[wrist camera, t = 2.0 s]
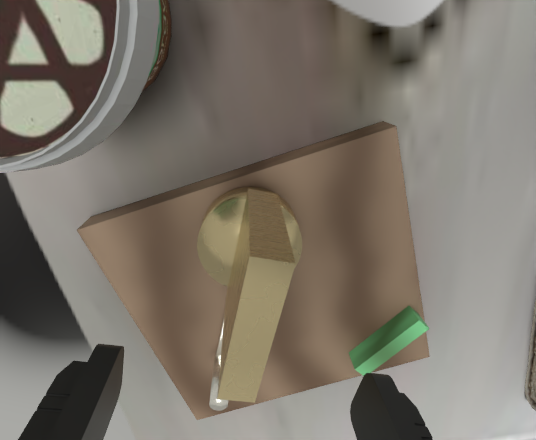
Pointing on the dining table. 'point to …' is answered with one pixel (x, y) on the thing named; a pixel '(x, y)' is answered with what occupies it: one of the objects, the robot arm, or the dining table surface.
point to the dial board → (304, 275)
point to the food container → (73, 73)
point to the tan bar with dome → (247, 283)
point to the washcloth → (532, 367)
